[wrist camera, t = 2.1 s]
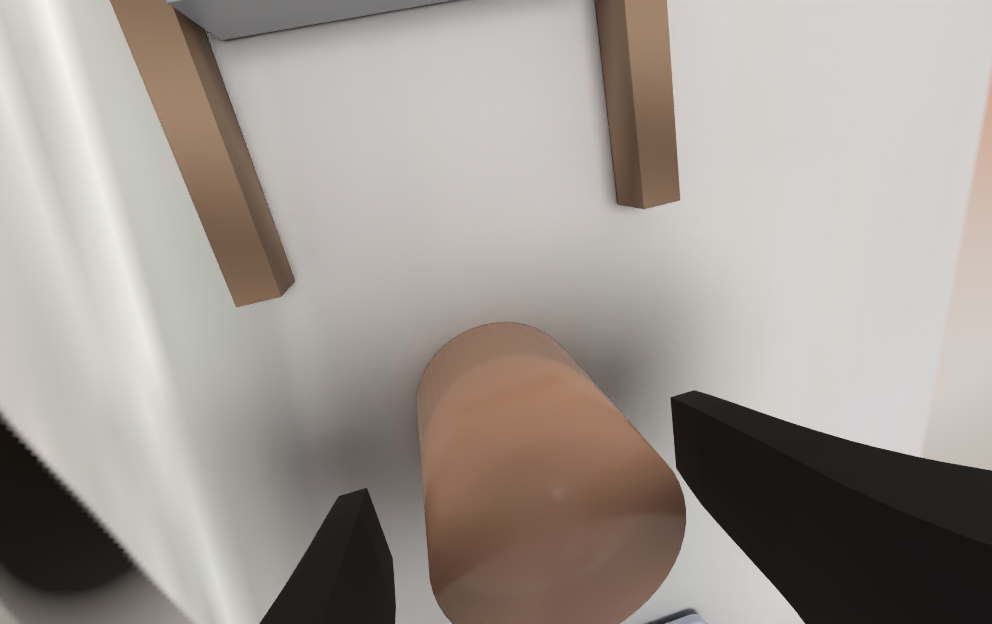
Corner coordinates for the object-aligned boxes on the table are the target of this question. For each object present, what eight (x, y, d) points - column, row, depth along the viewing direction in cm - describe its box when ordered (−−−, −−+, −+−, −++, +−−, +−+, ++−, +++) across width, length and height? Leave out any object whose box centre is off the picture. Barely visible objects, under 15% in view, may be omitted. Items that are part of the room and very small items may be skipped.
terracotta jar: (586, 443, 15) (693, 602, 10) (439, 488, 15) (463, 684, 9) (563, 303, 14) (676, 397, 8) (396, 347, 13) (395, 481, 8)
